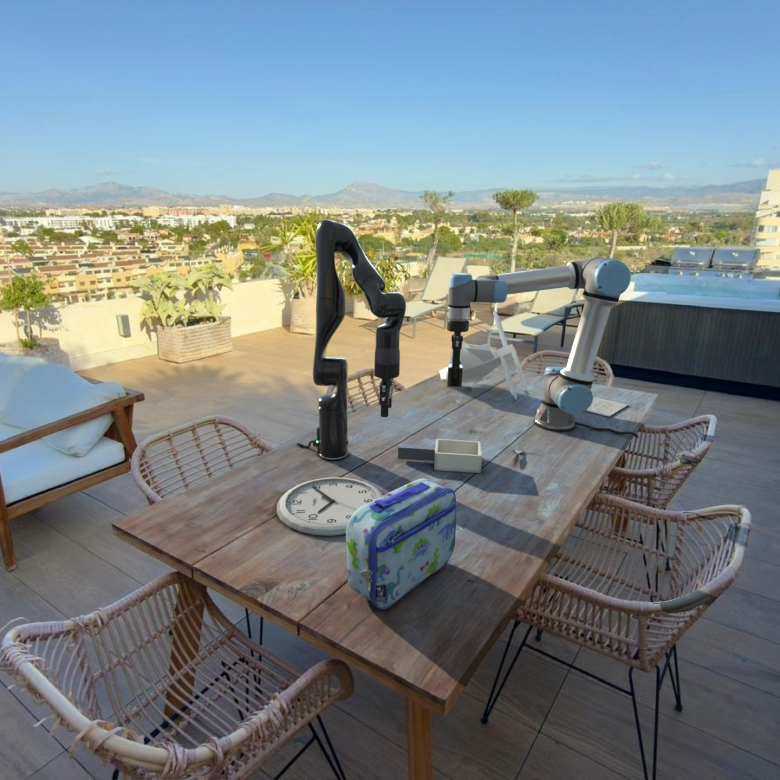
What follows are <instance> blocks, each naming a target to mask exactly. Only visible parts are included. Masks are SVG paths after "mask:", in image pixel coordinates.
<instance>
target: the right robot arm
mask: <svg viewBox="0 0 780 780" xmlns="http://www.w3.org/2000/svg"><path fill="white" fill-rule="evenodd" d="M631 280H632V275H631V270H630V269H629V267H628V266H627V264H626V263H624V262H623V261H621V260H619V259H616V258H610V257H602V256H595V257H590V258H586V259H581V260H577V261H576V260H575V261H569V262H568V263H567V264H566V265H561V266H553V267H547V268H539V269H538V268H537V269H530V270H523V271H516V272H515V271H514V272H508V273H500V274H494V275H478V276H477V277H475V278H474V279H473V275H472V274H471V273H464V272H455V273H451V274H450V276H449V282H448V293H447V294H448V297H447V298H448V299H447V309H445V312H446V313H447V318H448V319H447V321H446V330H447V331H448V332H450V333H453V334H451V350H452V349H453V357H452V367H450V369H452V372H451V387H450V388H460V387H459V370H460V364H461V362H460V350H461V349H462V342H463V340H464V335H462V333H467V332H468V331H469V329H470V320H469V319H471V317H470V316H471V314H470V313H471V303H486V304H487V303H488V304H489V303H491V304H501V303H502V304H503V303H505V302H506V300H507V297H508V296H509V295H515V294H522V293H523V294H524V293H530V292H531V293H532V292H539V291H547V290H556V289H564V288H567V289H569V290H577V289H578V290H583V292H582V297H583V300H584V305H583V308H582V312H581V315H580V319H579V322H578V326H577V329H576V333H575V335H574V339H573V343H572V346H571V348H570V352H569V356H568V359H567V363H566V366H548V367H546V368H545V370H544V374H543V381H542V382H543V384H542V394H541V402H540V405H539V407H538V408H537V410H536V413H535V416H534V424H535V425H536V426H537V427H539V428H542V429H544V430H549V431H556V432H567V431H572V430H574V429H575V428H576V425H577V426H580V427H583V428H586V429H590V430H594V431H597V432H598V431H599V432H609V433H610V432H611V433H613V434H616V435H632V436H634V437H635V438H637V439H639V438H640V436H639V435H638V434H637V433H635V432H633V431H618V430H615V429H612V428H608V427H595V426H592V425H589V424H586V423H582V422H578V421H576V418H575V417H576V416H575V415H581V414H582V413H584V412H587V411H586V410H587V409H588V408H589V407H590V406H591V404H592V401H593V398H594V395H593V391H592V387H593V384H594V380H595V378H594V377H593V376H592V371H593V368H594V365H595V361H596V358H597V354H598V352H599V349H600V346H601V342H602V339H603V336H604V332H605V329H606V326H607V323H608V320H609V317H610V313H611V310H612V307H613V306H615V305H617V304H618V303H619V302H620V301H619V300H620V297H621V295H622V294H623V293H625V292H626V291H627V289H628V288H629V287H630V284H631Z"/></svg>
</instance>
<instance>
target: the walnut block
mask: <svg viewBox="0 0 780 780" xmlns="http://www.w3.org/2000/svg"><path fill="white" fill-rule="evenodd" d="M447 365H448V366H447V367H448V382H447V385H446V387H449V388H452V387H451V372H452V369H450V367H452V364H449V363H448V364H447ZM462 372H463V365H460V370H459V387H458V388H462V387H463V383H462Z"/></svg>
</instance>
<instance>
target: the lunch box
mask: <svg viewBox="0 0 780 780" xmlns="http://www.w3.org/2000/svg"><path fill="white" fill-rule="evenodd" d="M456 498H457V496H456V493H455V491H454V489H452V488H450V487H443V486H441V485H439V484H438V483H436V482H433V481H432V480H430V479H427V478H423V477H422V478H418V479H416V480H413V481H411V482H409V483H406V484H405V485H402V486H400V487H398V488H396V489H394V490H392V491H390V492H388V493H386V494H384V496H382V497H380V498H378V499H376V500H374V501H372V502H370V503H368V504H366V505H364V506H362V507H360V508H358V509H357V510H356V511H355V512H354V513H353V514H352V515H351V517H350V519H349V521H348V524H347V528H346V534H345V547H346V549H345V550H346V572H347V573H346V575H347V584H348V587H349V589H350V590H351V591H353V592H355V593H357V594H358V595H361V596H363V597H364V598H365V599H367V600H368V601H369V602H371V604H372V605H373V606H374V607H376V608H377V609H380V610H386V609H389V608H391V607H393V605H395V603H397V602H398V601H399V600H400V599H402V598H403V597H404V596H405V595H408V593H410V592H411V591H412V590H413V589H415V588H416V587H417V586H419V585H420V584H421V583H423V581H424V580H425V579H427V578H428V577H430V576H431V575H433V574H435V573H437V572H438V571H439V570H441V569H442V568H443V567H444V566H446V564H447V563H448V562H449V560H450V559H451V556H452V555H453V552H454V548H455V544H456V531H457V530H456V529H457V499H456Z"/></svg>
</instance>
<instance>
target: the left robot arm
mask: <svg viewBox="0 0 780 780" xmlns="http://www.w3.org/2000/svg"><path fill="white" fill-rule="evenodd" d="M314 244H315V259H316V296H315V297H316V298H315V341H314V350H313V351H314V352H313V363H312V364H313V365H312V381H313V383H314V385H316V386H318V387H336V389H335V390H334V391H331V392H328V393H325V394H323V395H321V396H319V398H318V427H316V438H313V439H312V440H310V441H309V442H308V445H304V444H302V443H299V442H298V443H296V445H297V446H299V447H301V448H304V449H309V448H310V447H311V445H312V447H314V448H316V451H317V456H319V457H320V458H322V459H323V460H326V461H339V460H342V459H345V458H346V457H348V455H349V451H348V449H349V448H348V446H349V439H348V381H349V380H348V378H349V363H348V360H347V359H346V358H345V357H332V356H331V357H330V356H329V357H327V356H326V354H327V349H328V346H329V343H330V342H331V340H332V338H333V336H334V335H335V333H336V332H337V330H338V329H339V328H340V327H341V324H343V321H344V319H345V317H346V301H347V298H346V297H347V296H346V292H345V288H344V286H343V284H342V281H341V278H340V276H339V274H338V271H337V267H336V254H339V255H341V256H342V257H343V258H345V260H346V261H347V262H348V263H349V266H350V271H351V276H352V279H353V281H354V282H355V283H356V285H357V286H358V289H360V291H361V292H362V293H363V294H364V298H365V300H366V303H367V306H368V307H369V311H370V313H371V314H372V315H373V316H374V317H376V318H379V319H385V322H384V323H382V324H380V325H379V326H377V327H376V328H375V347H374V366H373V367H374V370H373V371H374V372H373V373H374V374H373V375H374V376H375V377H376V378H378V379H379V378H380V379H381V380H380V382H379V386H378V387H379V394H378V395H379V396H378V397H379V401H378V404H379V405H378V406H380V417H381V418H388V417H389V409H391V408H392V407H393V406H392V405H393V404H392V403H393V401H392V400H393V394H394V393H393V392H394V387H395V380H394V379H397V378H398V377H399V376H400V369H401V368H400V367H401V365H400V364H401V362H400V361H401V350H400V338H401V337H400V334H401V333H400V332H401V330H402V329H401V328H402V326H403V323H404V318H405V315H406V311H407V302H406V299H405V296H404V295H403V294H402V293H400V292H398V291H391V292H384V291H385V290H386V282H385V280H384V278H383V277H382V276H381V274H380V273H379V272H378V271H377V270H376V268H375V267H374V266H373V264H372V263H371V261H370V260H369V259H368V257H367V256H366V254H365V252H364V250H363V249H362V247H361V245H360V243H359V241H358V239H357V237H356V235H355V233H354V231H353V230H352V229H351V228H350V226H348V225H347V224H345V223H344V224H343V223H340V222H337V221H334V220H331V219H322V220H321V221H320V222H319V223H318V225H317V227H316V230H315V237H314Z"/></svg>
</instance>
